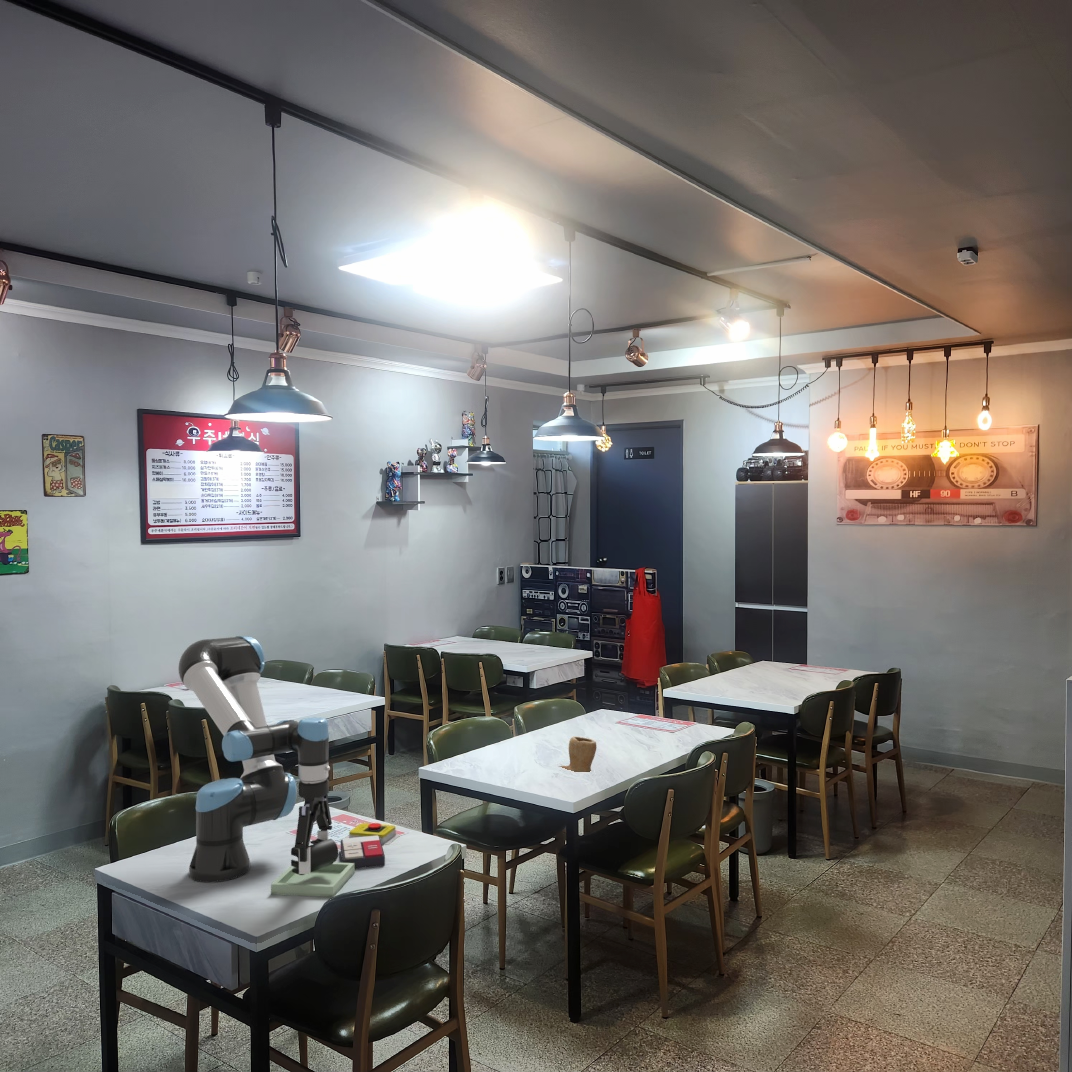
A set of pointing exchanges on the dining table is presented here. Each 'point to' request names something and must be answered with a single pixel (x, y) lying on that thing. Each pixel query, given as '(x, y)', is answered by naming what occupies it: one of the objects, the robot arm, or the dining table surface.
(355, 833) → the emergency button
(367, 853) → the button switch box
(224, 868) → the robot arm
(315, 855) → the end cap
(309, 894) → the sage tray
